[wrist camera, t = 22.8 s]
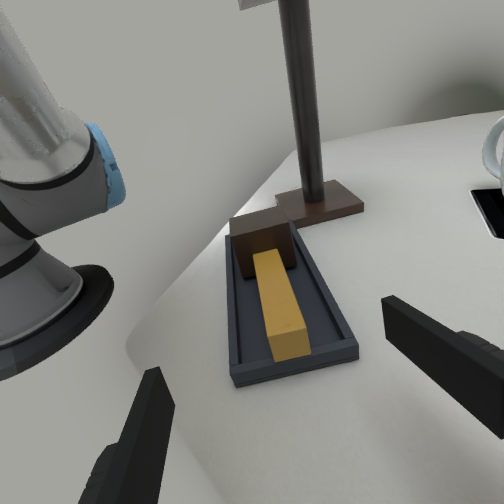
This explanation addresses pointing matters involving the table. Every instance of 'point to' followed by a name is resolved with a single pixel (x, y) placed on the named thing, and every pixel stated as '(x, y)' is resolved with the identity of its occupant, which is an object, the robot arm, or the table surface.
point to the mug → (494, 152)
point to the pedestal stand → (306, 125)
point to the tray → (254, 330)
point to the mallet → (272, 277)
